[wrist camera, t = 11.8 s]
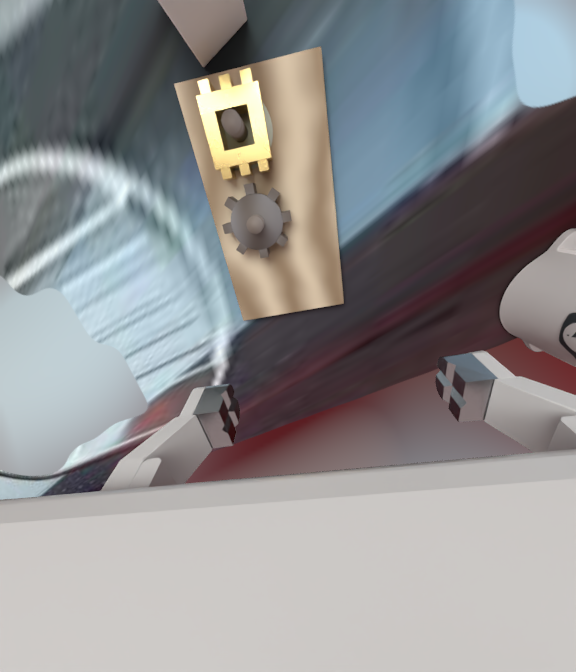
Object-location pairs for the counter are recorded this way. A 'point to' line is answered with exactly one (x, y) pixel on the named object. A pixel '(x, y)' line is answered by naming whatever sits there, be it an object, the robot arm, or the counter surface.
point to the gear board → (275, 190)
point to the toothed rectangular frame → (242, 102)
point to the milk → (205, 23)
